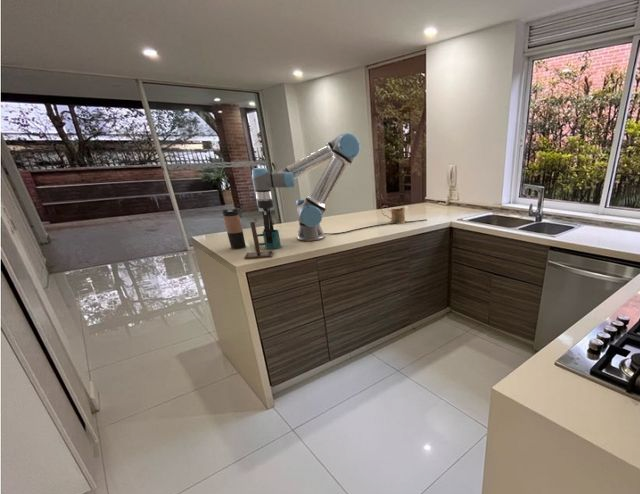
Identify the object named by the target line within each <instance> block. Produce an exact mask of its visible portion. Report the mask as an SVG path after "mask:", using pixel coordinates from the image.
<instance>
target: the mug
mask: <svg viewBox="0 0 640 494" xmlns="http://www.w3.org/2000/svg"><path fill="white" fill-rule="evenodd" d="M384 207H385V208H387V211H389V212H390V213H391V215H390V216H391V217H389V216H388V215H387V214H384V213H383V208H384ZM380 209H381V214H382V216H384V217H387V218H388V219H389V220H390V219H391V220H390V223H396V224H395V225H402V224H406V223H405V222H407V221H406V219H405V218H406V214H405V213H406V211H405V206H403V207H399V208H391V209H389V206H388V205H383V206H382V208H380Z"/></svg>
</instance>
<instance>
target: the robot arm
mask: <svg viewBox="0 0 640 494" xmlns="http://www.w3.org/2000/svg"><path fill="white" fill-rule="evenodd" d="M360 151H361V143H360V140H359V138H358V137H357V136H356V135H354V134H353V133H350V132H344V133H342V134H339V135H337V136H336V137H334V138H333V139H332V140H330V141H328V142H327V143H326V145H325V146H324V147H322V148H319V149H318V150H316V151H313V152H312V153H310V154H308V155H306V156H305V157H302V158H301V159H298V160H296V161H294V162H293V163H291V164H289V165H287V166H285V167H283V168H281V169H278V170H276V171H274V172H270V171H269V170H268V168H266V167H254V168H252V170H251V174H252V182H253V187H254V192H255V193H254V196H255V197H256V200H257V201H256V205H257V208H258V209H262V211H261V214H262V220H263V229H262V230H263V231H265V232H266V238H267V243H273V240H272V234H271V230H275V229H274V228H275V227H274V226H275V222H274V220H273V216H272V210H271V209H272V208H274V201H273V195H272V189H271V188H273V189H274V188H276V189H277V188H287V189H289V188H294V187H295V180H296V179H298V178H300V177H303V176H304V175H307V174H308V173H310V172H312V171H314V170H316V169H318V168H319V167H321V166H323V165H325V164H327V165H326V167H325V168H324V171H323V173H322V174H321V176H320V178H319V180H318V182H317V183H316V186H315V187H314V189H313V191H312V193H311V194H310V195H309V196H306V197H305V199H297V200H296V201H295V206H296V213H297V218H298V226H299V228H298V230H297V240H298V241H302V242H316V241H320V240H323V239H324V238H325V236H327V235H328V236H329V235H330V236H333V235H341V234H347V233H350V232H351V233H352V232H354V231H358V230H359V231H360V230H364V229H368V228H374V227H380V226H387V225H397V224H396V223H380V224H375V225H370V226H369V225H368V226H364V227H360V228H355V229H351V230H346V231H342V232H332V233H331V232H324V230H323V229H322V227H321V222H322V220H323V215H324V213H325V212H326V210H327V205H326V204H327V202H328V200H329V198H330V197H331V195H332V193H333V191H334V189H335V187H336V186H337V184H338V182H339V180H340V179H341V177H342V175H343V173H344V171H345V169H346V168H347V166H351V164H352V162H353V161H354V159H355V158H356V157H357V156H358V155H359V154H360ZM424 221H425V222H426V221H428V220H427V218H425V219H419V220H418V219H417V220H409V221H406V222H405V223H404V224H407V223H416V222H424Z"/></svg>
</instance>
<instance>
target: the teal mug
mask: <svg viewBox="0 0 640 494" xmlns="http://www.w3.org/2000/svg"><path fill="white" fill-rule="evenodd" d="M271 234H272V240H273V243H267V238H266V232H265V231H264V230H263V231H262V233H257V237H262V238H263V242H259V240H258V242H259V246H264V248H265V249H266V250H277V249H280V248H282V244H281V237H280V231H279V230H278V229H274V230H271Z"/></svg>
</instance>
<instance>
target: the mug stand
mask: <svg viewBox="0 0 640 494" xmlns="http://www.w3.org/2000/svg"><path fill="white" fill-rule="evenodd" d="M249 224H250V229H251V233H252V238H253V243H254V248H255V251H254V252H247V253H246V255H245V256H244V259H245V260H252V259H253V260H254V259H264V258H272V256H273V253H274V252H273V250H265V251H261V247H260V245H259V243H260V242H258V241H259V238H258V237H259V236H258V237H257V234H258V231H257V228H256V224H257V218H253V221H250V222H249Z"/></svg>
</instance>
